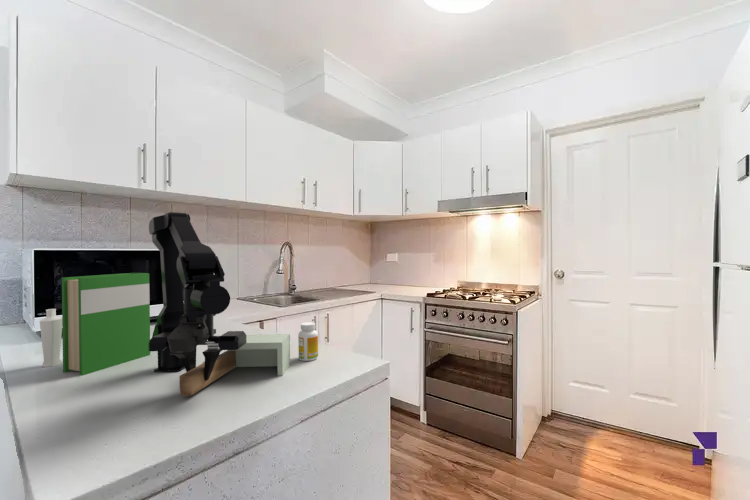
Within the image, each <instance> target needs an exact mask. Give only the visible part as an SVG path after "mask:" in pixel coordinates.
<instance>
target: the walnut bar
mask: <svg viewBox="0 0 750 500" xmlns="http://www.w3.org/2000/svg"><path fill="white" fill-rule="evenodd" d="M202 363H203V362H202ZM202 363H201V364H198V365H196V367H195V368H193V369H191V370H190V371H188V372H184V373H182V374H180V375H179V391H180V392H179V396H193V395H196V393H198V392H199V391H201V390H202V389H204V388H206V387H207V386H209V385H210V384H211V383H213V382H214V381H216V380H218V379H219V378H221V377H223V376H224V375H225V374H227V373H229V372H230V371H232V370H233V369H235V368H237V367H236V351H227V350H224V352H222V353H220V354H219V356H218V358H217V360H216V362H215V365H214V367H213V370H212V372H211V375H210V377H209V379H208V380H207V381H205V377H204V368H205V363H203V364H202Z"/></svg>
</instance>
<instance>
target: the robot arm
mask: <svg viewBox="0 0 750 500" xmlns="http://www.w3.org/2000/svg"><path fill="white" fill-rule="evenodd" d="M148 232H149V235H151V241H152V244H154V246H155V248H157V249H158V251H159V255H160V270H161V271H160V272H161V288H162V289H161V290H162V301H163V307H162V308H161V311H160V312H159V314H158V315H157V317H156V324H155V325H154V328H153V329H154V330H153V332H152V336H151V337H150V341H149V343H148V345H149V351H150V352H157V367H156V368H155V369H153V371H154V372H155V373H156V372H157V373H158V372H180V371H182V370H185V371H186V372H188V371H190V370H191V369H193V368H195V367H197V346H207V349H206V350H204V351H202V353H201V354H202V355H203V357H204V362H205V368H204V377H205V381H207V380H208V379H209V377H210V375H211V372H212V370H213V367H214V365H215V362H216V360H217V358H218V356H219V355H220V354H221V352H222V351H227V350H237V349H239V348H240V347H242V346H243V345H244V344H245V343H247V342H246V335H247V334H246V332H245V331H244V330H229V331H226V332H225V333H223V334H221V335H216V334H217V328H214V317H215V316H216V315H219V314H222V313H224V311H226V310H227V308H228V307H229V305H230V303H231V295H230V293H229V291H228V290H227V288H226V287H224V286H222V285H221V282H223V283H224V282H225V272H224V269H223V266H222V264H221V261H220V260H219V257H218V256H217V255H216V253H215V252H214V250H213V249H212V247H210V246H209V245H207V244H204V243H203V242H201V240H200V238H199V236H198V234H197V233H196V231H195V228H194V227H193V225H192V223H191V216H190V214H189V213H186V212H178V211H177V212H175V211H170V212H166V213H164V214H162V215H158V216H154V217H152V218H151V220H150V221H149V222H148ZM186 372H185V373H186Z"/></svg>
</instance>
